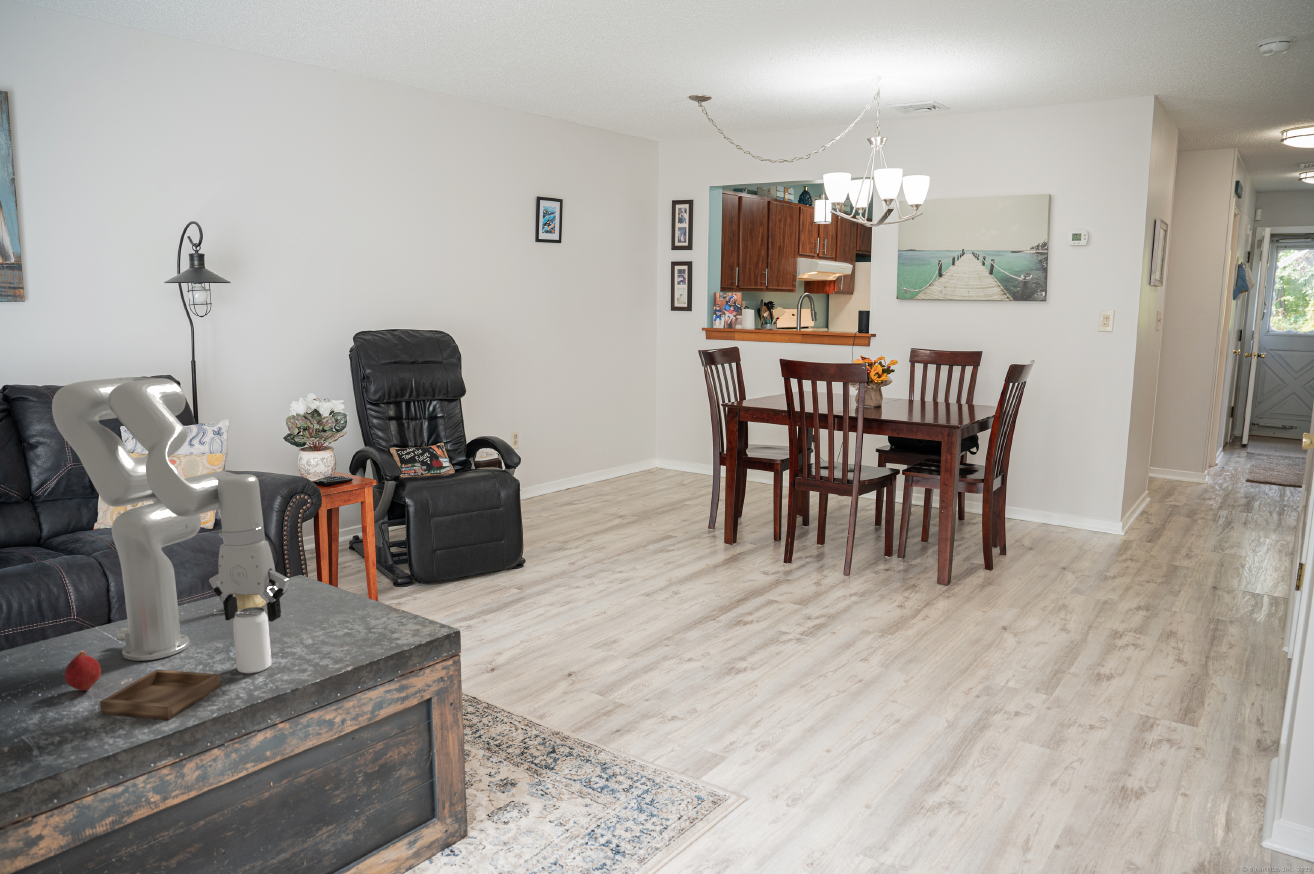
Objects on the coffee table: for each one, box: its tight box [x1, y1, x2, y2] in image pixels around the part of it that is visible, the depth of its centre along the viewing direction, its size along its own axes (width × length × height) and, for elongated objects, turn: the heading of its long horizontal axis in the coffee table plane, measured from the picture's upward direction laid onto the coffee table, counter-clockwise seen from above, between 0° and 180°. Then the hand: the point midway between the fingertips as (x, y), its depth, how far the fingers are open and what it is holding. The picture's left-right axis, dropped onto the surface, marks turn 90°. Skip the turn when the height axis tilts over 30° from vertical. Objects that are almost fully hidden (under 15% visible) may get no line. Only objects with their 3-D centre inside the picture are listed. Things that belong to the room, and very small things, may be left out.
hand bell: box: [234, 594, 267, 611], centre depth 215 cm, size 8×8×16 cm
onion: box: [64, 650, 102, 692], centre depth 169 cm, size 6×6×8 cm
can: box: [232, 607, 272, 675], centre depth 178 cm, size 6×6×12 cm
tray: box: [99, 669, 222, 721], centre depth 165 cm, size 14×14×2 cm
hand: (253, 618), depth 177 cm, fingers open, 9 cm apart
